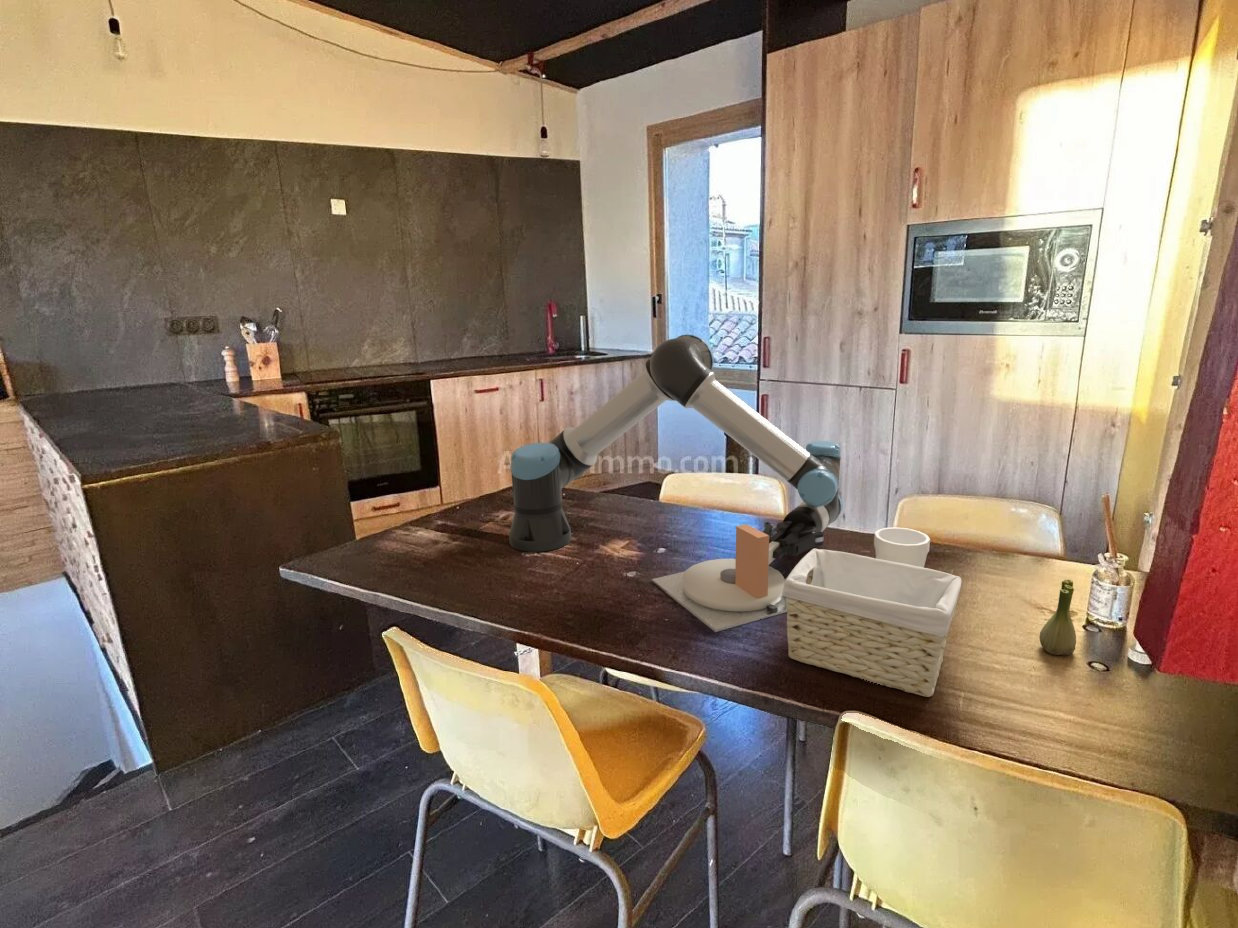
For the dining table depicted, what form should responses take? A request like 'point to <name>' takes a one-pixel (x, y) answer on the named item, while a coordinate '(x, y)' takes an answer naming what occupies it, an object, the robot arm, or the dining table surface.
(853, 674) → the storage basket
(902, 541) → the foam cup
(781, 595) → the dial
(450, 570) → the dining table surface
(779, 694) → the dining table surface
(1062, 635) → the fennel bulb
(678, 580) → the base plate
